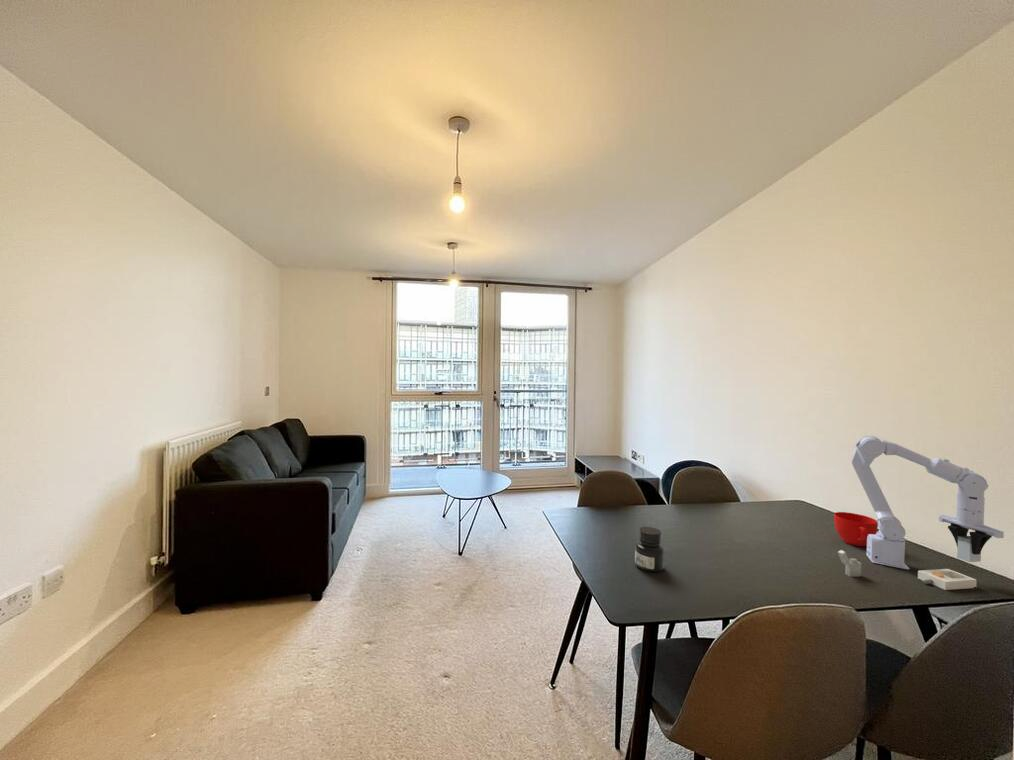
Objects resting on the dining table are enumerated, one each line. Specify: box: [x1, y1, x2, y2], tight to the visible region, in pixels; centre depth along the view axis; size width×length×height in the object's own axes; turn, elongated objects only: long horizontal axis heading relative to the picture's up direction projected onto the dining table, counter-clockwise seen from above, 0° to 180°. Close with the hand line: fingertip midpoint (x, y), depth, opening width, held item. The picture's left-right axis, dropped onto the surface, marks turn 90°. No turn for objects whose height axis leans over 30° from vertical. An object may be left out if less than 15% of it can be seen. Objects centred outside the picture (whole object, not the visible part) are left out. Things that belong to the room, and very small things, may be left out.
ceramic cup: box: [833, 511, 879, 547], centre depth 153 cm, size 13×17×10 cm
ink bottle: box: [634, 526, 665, 573], centre depth 130 cm, size 10×9×12 cm
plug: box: [956, 535, 982, 563], centre depth 126 cm, size 4×3×7 cm, turn 99°
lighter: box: [837, 549, 862, 578], centre depth 128 cm, size 7×2×8 cm, turn 96°
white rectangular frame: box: [917, 568, 977, 591], centre depth 124 cm, size 14×7×3 cm, turn 99°
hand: (968, 551), depth 126 cm, fingers closed on plug, 3 cm apart
